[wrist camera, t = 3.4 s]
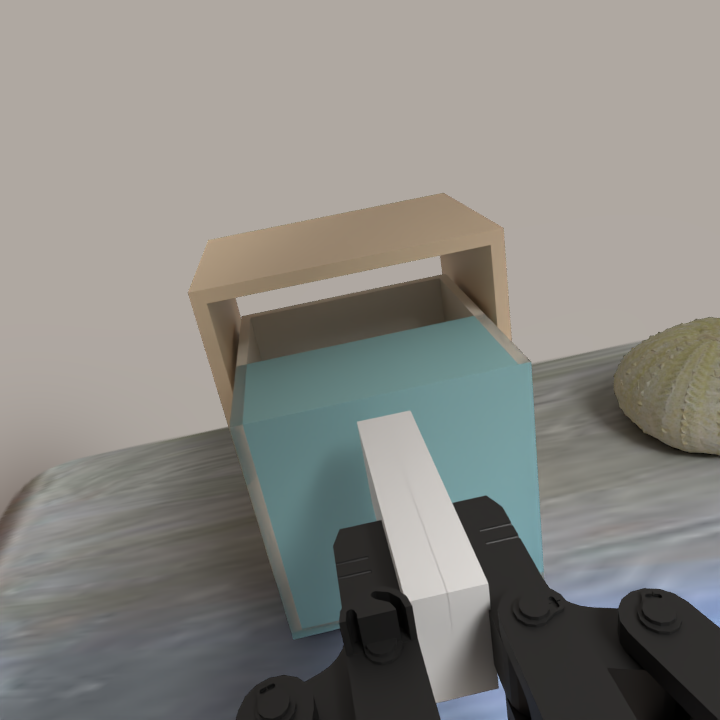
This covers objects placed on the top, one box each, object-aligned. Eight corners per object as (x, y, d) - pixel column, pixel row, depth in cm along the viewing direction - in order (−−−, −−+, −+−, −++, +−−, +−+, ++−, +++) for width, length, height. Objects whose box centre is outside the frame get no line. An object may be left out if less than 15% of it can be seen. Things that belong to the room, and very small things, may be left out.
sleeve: (525, 522, 27) (503, 227, 21) (275, 581, 26) (188, 292, 21) (470, 430, 34) (443, 192, 29) (273, 474, 33) (208, 240, 28)
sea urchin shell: (568, 370, 34) (668, 252, 32) (659, 433, 37) (757, 328, 35) (664, 458, 26) (806, 306, 24) (773, 531, 29) (910, 401, 27)
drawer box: (544, 579, 23) (531, 361, 19) (293, 639, 22) (229, 427, 18) (465, 439, 32) (445, 273, 28) (285, 480, 31) (241, 316, 28)
